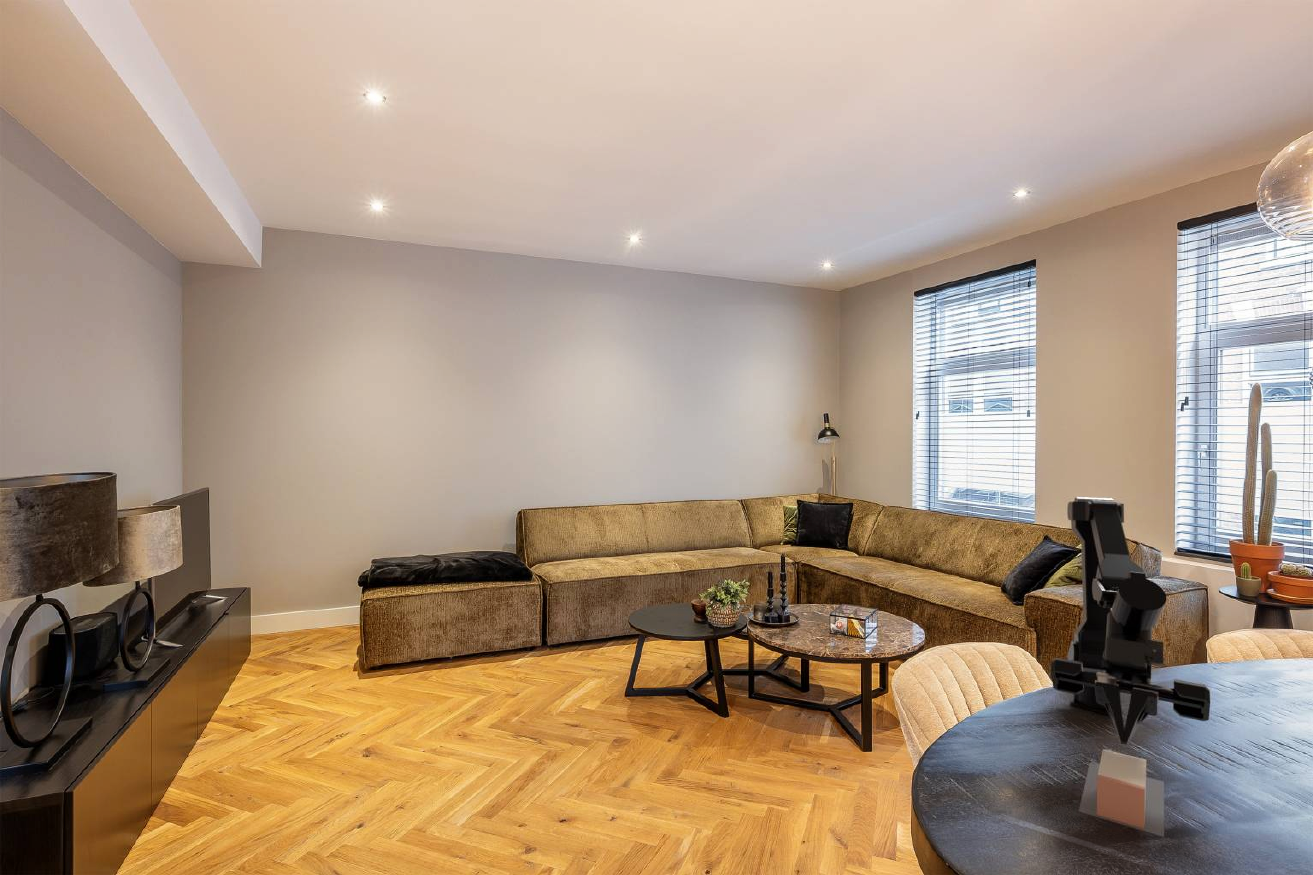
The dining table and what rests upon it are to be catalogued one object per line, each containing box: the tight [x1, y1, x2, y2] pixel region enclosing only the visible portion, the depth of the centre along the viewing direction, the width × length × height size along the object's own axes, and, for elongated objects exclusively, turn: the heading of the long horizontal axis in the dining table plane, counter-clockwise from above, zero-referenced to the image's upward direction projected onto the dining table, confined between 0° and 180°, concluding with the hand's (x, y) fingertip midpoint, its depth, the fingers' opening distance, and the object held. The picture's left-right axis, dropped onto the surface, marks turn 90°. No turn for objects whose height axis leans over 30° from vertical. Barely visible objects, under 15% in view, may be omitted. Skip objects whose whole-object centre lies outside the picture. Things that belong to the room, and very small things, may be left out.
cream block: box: [1097, 749, 1147, 829], centre depth 89 cm, size 5×5×10 cm
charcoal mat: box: [1078, 762, 1165, 838], centre depth 91 cm, size 17×9×1 cm, turn 142°
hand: (1123, 743), depth 92 cm, fingers closed
